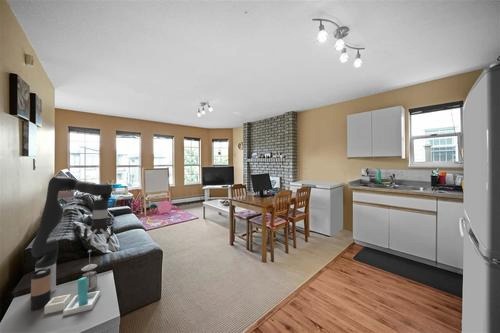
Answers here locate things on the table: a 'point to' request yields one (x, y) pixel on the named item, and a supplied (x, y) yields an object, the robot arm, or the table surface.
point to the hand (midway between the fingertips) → (98, 244)
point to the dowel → (82, 291)
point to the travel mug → (40, 288)
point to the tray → (75, 308)
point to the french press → (90, 274)
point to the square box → (57, 304)
